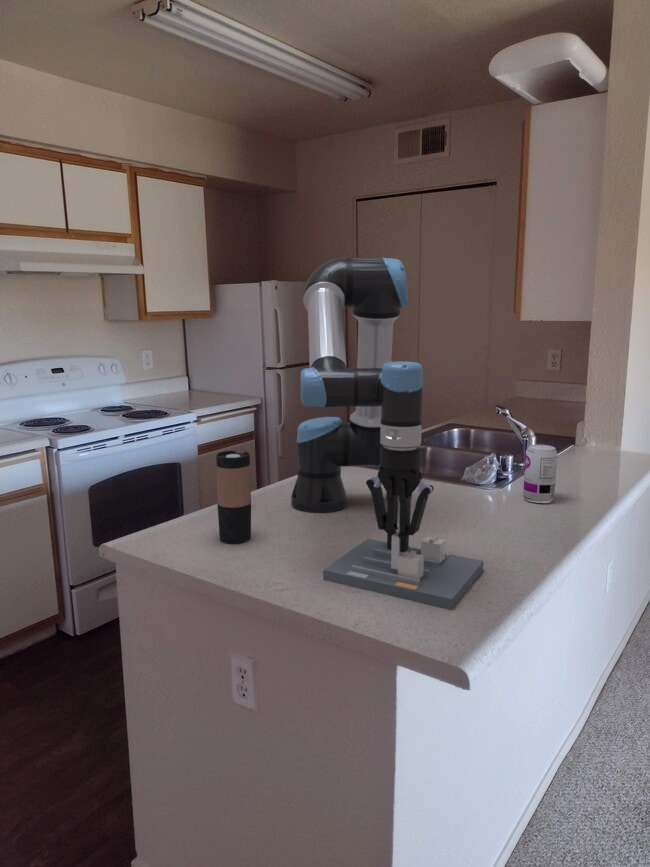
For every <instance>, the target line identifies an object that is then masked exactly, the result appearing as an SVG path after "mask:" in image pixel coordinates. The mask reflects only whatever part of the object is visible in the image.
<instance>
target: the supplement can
mask: <svg viewBox="0 0 650 867" xmlns="http://www.w3.org/2000/svg"><path fill="white" fill-rule="evenodd" d="M524 460H525V461H524V476H523V491H522V497H523V499H527V500H530V501H539V502H540V501H541V502H542V501H550V500H553V499H554V500H555V491H556V480H557V479H556V478H557V464H558V451H557V449H556V447H555V446H552V445H548V444H530V445H528V447H527V449H526V451H525V459H524ZM554 500H553V501H554Z"/></svg>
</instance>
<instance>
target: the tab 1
mask: <svg viewBox="0 0 650 867" xmlns="http://www.w3.org/2000/svg"><path fill="white" fill-rule="evenodd" d="M423 571H424V556H423V555H418V554H416V551H413V550H412V551H411V552H410V553H408V552H405V553H402V554H401V555H400V556H399V557H398V575H401V576H406V577H410V578H415V579H420V578H421V577H422V576H423Z"/></svg>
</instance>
